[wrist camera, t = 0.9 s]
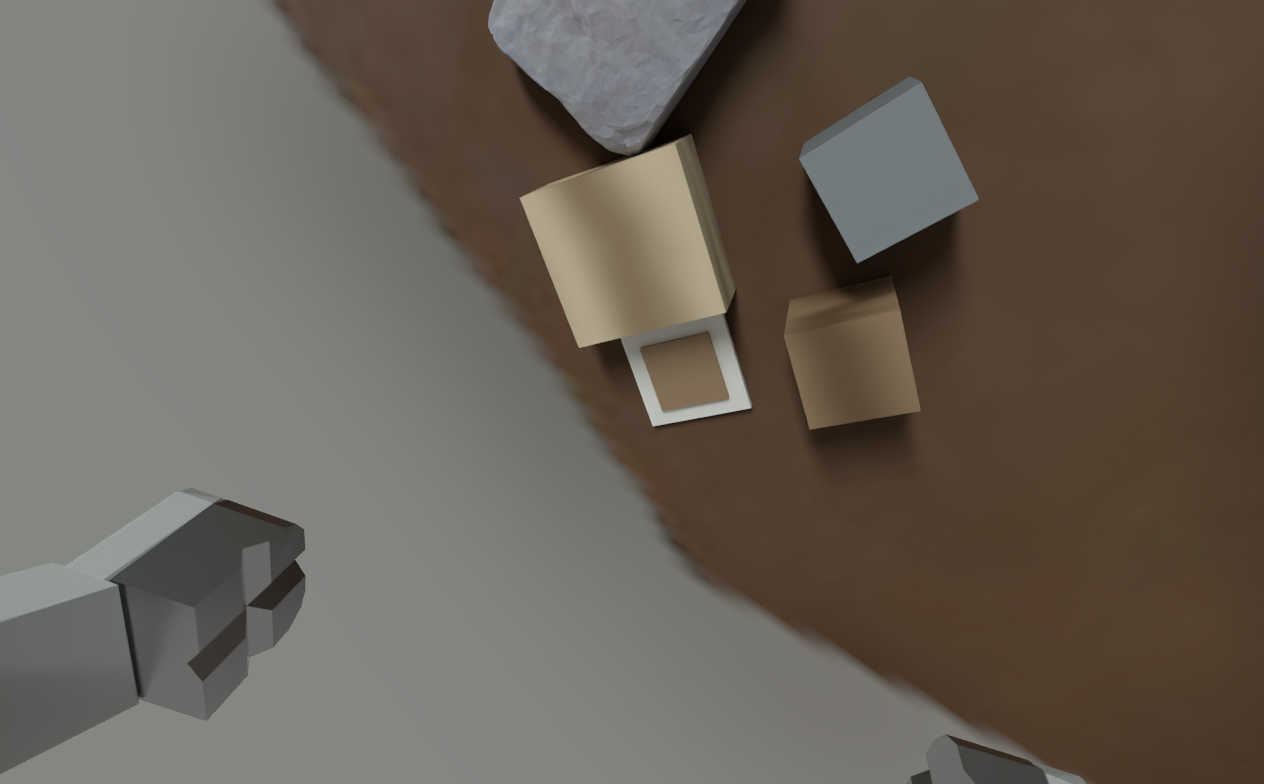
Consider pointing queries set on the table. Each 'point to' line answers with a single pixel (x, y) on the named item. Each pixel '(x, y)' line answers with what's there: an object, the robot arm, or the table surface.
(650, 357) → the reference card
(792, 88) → the table surface
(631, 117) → the stone block
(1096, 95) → the table surface
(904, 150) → the slate cube
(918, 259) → the table surface
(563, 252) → the oak base block
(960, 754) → the robot arm
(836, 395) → the walnut cube
